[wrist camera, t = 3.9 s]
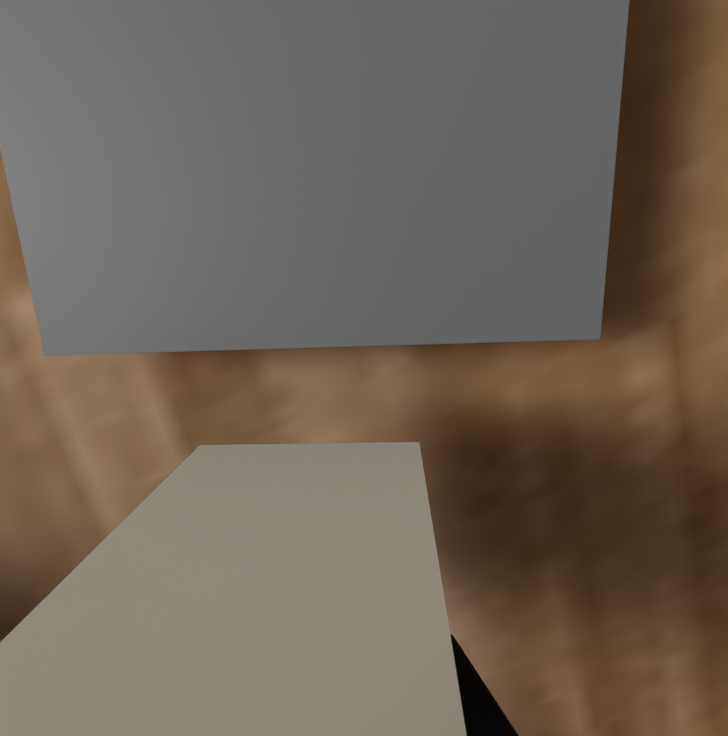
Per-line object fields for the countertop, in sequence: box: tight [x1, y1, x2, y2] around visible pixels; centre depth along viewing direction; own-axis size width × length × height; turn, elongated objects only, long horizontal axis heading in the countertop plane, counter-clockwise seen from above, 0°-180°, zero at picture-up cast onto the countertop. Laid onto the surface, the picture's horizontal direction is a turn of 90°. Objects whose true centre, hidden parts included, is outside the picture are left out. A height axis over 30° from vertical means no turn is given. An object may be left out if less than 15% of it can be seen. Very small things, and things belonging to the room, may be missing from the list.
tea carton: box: [0, 442, 467, 736], centre depth 7 cm, size 6×5×8 cm
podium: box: [0, 0, 629, 355], centre depth 11 cm, size 12×14×3 cm
